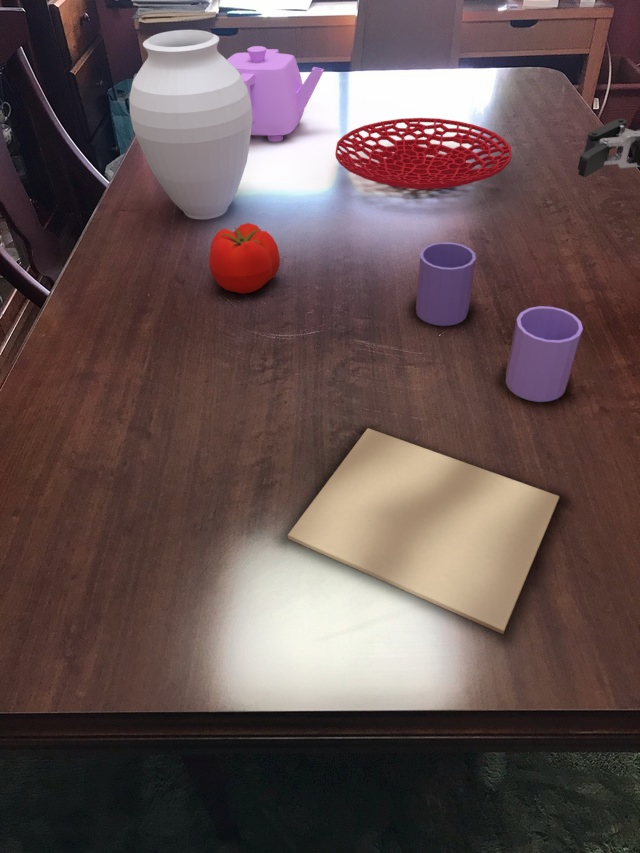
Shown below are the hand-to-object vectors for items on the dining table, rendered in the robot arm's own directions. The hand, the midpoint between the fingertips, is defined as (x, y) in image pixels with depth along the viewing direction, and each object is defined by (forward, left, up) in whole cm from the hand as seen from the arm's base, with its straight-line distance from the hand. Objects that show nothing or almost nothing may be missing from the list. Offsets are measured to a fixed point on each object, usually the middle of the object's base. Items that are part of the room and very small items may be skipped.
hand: (620, 180), depth 68 cm
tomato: (+43, +5, -21) cm, 48 cm away
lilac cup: (+17, 0, -21) cm, 27 cm away
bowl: (+36, -38, -21) cm, 56 cm away
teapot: (+73, -45, -21) cm, 88 cm away
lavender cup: (+2, +8, -21) cm, 22 cm away
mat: (+5, +32, -21) cm, 39 cm away
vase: (+62, -11, -21) cm, 66 cm away
